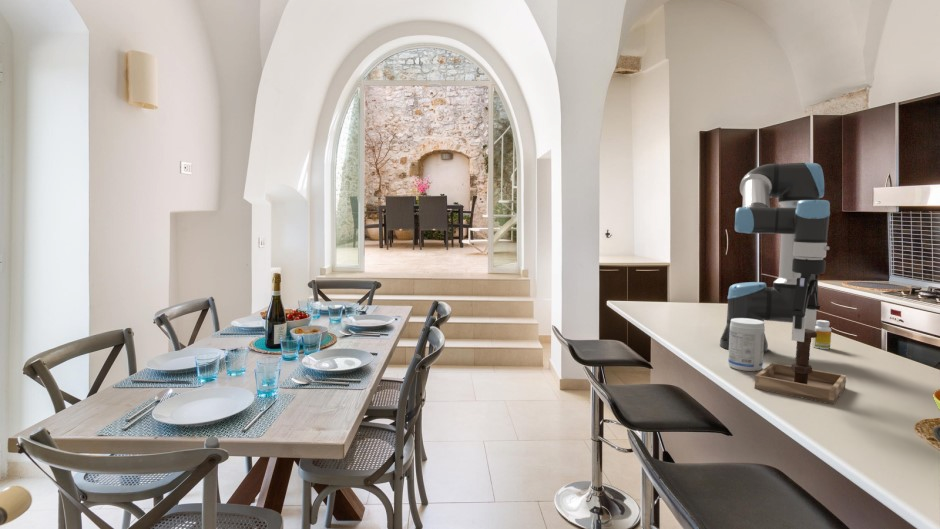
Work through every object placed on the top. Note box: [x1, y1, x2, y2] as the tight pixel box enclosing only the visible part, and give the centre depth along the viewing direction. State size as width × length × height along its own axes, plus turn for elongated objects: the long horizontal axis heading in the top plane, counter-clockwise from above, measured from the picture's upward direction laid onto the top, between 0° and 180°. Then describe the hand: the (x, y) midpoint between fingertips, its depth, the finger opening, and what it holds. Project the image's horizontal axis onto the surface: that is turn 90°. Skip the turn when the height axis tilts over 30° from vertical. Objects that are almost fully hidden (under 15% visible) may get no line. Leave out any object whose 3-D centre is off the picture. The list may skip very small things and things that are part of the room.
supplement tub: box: [727, 318, 765, 372], centre depth 166 cm, size 10×10×15 cm
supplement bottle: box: [811, 319, 832, 350], centre depth 193 cm, size 5×5×10 cm
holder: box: [753, 362, 847, 405], centre depth 147 cm, size 18×18×4 cm
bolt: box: [790, 329, 817, 384], centre depth 146 cm, size 6×5×15 cm
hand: (803, 336), depth 146 cm, fingers open, 13 cm apart
